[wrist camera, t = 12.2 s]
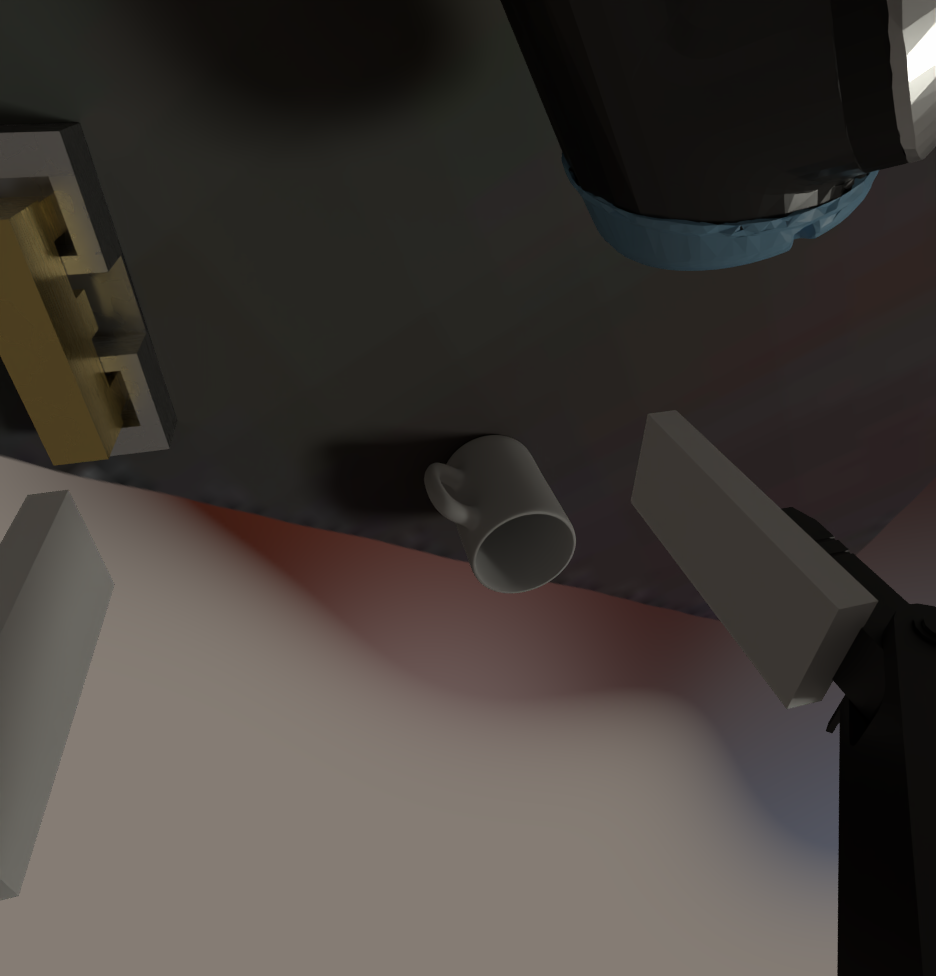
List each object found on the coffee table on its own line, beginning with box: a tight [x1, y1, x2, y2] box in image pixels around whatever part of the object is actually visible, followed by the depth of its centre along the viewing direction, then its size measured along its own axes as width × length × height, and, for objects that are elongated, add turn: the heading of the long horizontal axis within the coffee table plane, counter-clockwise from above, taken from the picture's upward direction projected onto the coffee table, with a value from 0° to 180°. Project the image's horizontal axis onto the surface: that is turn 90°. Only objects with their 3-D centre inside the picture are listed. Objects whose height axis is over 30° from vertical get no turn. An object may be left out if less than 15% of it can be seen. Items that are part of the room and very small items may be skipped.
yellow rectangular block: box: [0, 196, 126, 465], centre depth 35 cm, size 14×3×7 cm, turn 0°
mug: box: [424, 435, 576, 593], centre depth 50 cm, size 12×8×11 cm
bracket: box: [0, 123, 177, 456], centre depth 37 cm, size 19×7×4 cm, turn 0°
